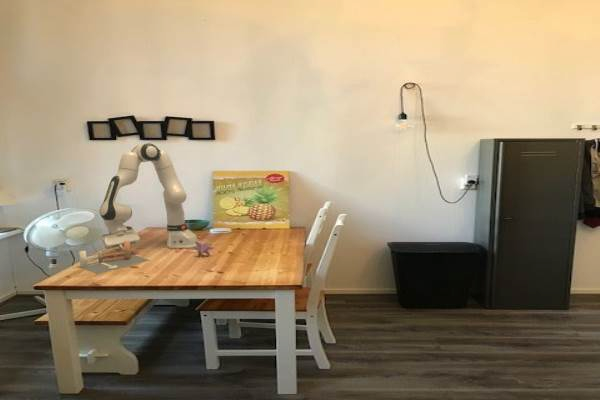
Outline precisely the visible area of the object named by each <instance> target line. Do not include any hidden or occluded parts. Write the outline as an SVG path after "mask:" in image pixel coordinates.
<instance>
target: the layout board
mask: <svg viewBox="0 0 600 400" xmlns="http://www.w3.org/2000/svg"><path fill="white" fill-rule="evenodd" d="M102 261H103V260H102ZM147 262H150V259H148V258H146V257H145V258H144V257H141V256H137V255H135V254H131V258H130V259H125V258H124V259H116V260H108V261H103V263H99V262H97V263H92V264H88V265H87V267H83V268H81V265H80V266H78V267H79V268H81V269H83V270H85V271H88V272H91V273H94V274H95V275H99V274H104V273H108V272H111V271H115V270H119V269H121V268H122V269H123V268H126V267H130V266H135V265H138V264H142V263H147Z"/></svg>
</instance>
